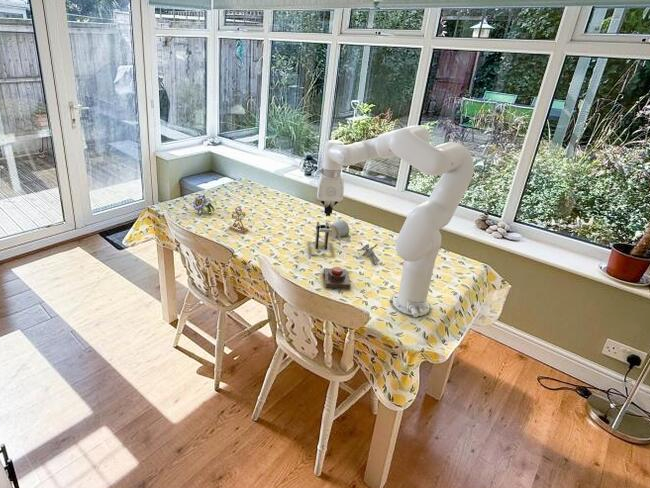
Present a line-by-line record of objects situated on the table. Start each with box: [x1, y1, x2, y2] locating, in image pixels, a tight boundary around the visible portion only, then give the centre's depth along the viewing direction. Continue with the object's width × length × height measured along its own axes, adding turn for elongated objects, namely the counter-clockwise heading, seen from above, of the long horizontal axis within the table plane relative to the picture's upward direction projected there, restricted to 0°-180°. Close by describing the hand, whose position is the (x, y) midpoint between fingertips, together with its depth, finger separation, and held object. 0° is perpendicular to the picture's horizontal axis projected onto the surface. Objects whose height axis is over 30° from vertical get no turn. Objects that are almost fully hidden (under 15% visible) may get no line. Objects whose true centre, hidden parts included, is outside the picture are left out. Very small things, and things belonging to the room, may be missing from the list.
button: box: [332, 266, 343, 275], centre depth 160 cm, size 4×4×2 cm
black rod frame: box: [314, 221, 330, 250], centre depth 183 cm, size 12×10×13 cm
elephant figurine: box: [360, 243, 381, 265], centre depth 176 cm, size 10×6×9 cm
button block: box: [323, 267, 351, 290], centre depth 161 cm, size 11×9×4 cm
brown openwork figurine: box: [228, 206, 249, 234], centre depth 200 cm, size 9×4×12 cm, turn 55°
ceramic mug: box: [328, 219, 351, 241], centre depth 194 cm, size 11×8×8 cm
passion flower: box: [190, 193, 218, 215], centre depth 221 cm, size 11×11×12 cm
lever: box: [319, 224, 332, 233], centre depth 176 cm, size 12×5×2 cm, turn 175°
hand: (327, 215), depth 167 cm, fingers closed
